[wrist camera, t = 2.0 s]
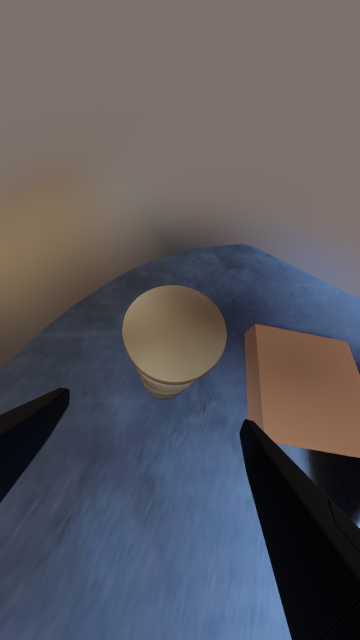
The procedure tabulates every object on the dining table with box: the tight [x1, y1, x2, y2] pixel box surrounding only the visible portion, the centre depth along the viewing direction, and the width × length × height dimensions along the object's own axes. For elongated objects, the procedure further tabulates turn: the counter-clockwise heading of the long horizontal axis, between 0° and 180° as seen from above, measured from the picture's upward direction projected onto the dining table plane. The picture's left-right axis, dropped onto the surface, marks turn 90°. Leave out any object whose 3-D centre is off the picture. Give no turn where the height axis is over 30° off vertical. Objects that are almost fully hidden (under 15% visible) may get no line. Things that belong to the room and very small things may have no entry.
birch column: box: [122, 285, 227, 399], centre depth 14 cm, size 5×5×13 cm
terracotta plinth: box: [244, 324, 360, 458], centre depth 19 cm, size 12×12×3 cm
